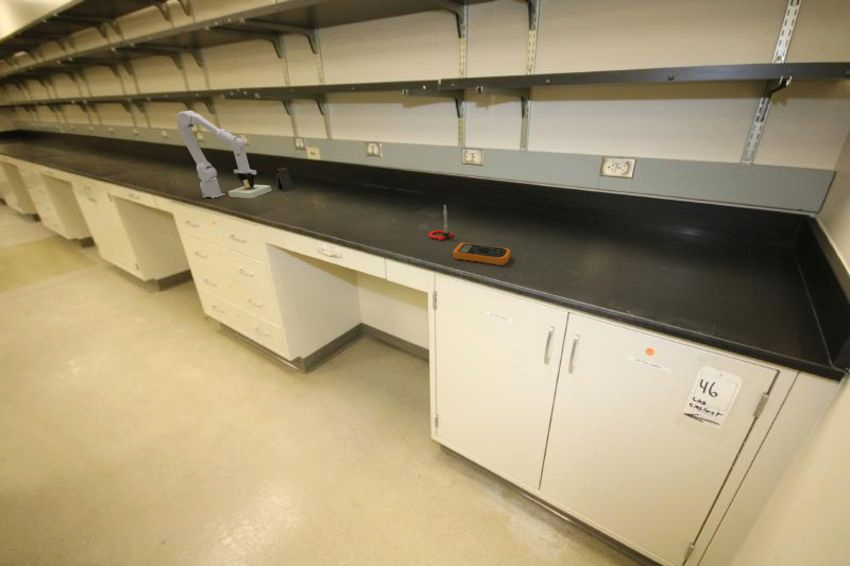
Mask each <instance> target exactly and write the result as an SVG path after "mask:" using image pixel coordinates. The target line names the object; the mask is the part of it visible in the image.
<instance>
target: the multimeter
mask: <svg viewBox="0 0 850 566" xmlns="http://www.w3.org/2000/svg"><path fill="white" fill-rule="evenodd" d="M452 253H453V254H452V257H453V258H454V259H455V258H456V259H455V260H457V259H464V260H463V261H466V260H470V261H469V262H473V261H479V262H478V263H480V262H486V263H485V264H487V263H493V264H505V263H506V264H507V263H508V262H509V260H510V258H511V249H509V248H507V247H500V246H490V245H483V244H482V245H481V244H475V243H467V242H460V243H459V244H458V245H457V246H456V247H455V248H454V250H453V251H452ZM493 264H492V265H493ZM506 264H505V265H506Z"/></svg>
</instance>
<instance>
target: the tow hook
mask: <svg viewBox="0 0 850 566" xmlns="http://www.w3.org/2000/svg"><path fill="white" fill-rule="evenodd" d="M434 233H436V234H442V235H435V234H434ZM428 236H429V237H428ZM427 237H428V238H430V239H432V238H433V240H438V241H439V240H440V242H441V240H442V241H443V240H444V239H445V240H449V239H450V238H453V237H455V234H454V233H453V232H450V231H449V225H448V211H447V205H446V204H445V205H444V204H443V229H438V230H436V229H435V230H433V231H430V232H428V234H427Z"/></svg>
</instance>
